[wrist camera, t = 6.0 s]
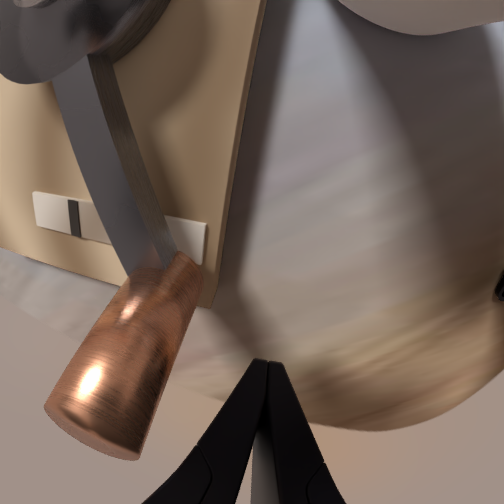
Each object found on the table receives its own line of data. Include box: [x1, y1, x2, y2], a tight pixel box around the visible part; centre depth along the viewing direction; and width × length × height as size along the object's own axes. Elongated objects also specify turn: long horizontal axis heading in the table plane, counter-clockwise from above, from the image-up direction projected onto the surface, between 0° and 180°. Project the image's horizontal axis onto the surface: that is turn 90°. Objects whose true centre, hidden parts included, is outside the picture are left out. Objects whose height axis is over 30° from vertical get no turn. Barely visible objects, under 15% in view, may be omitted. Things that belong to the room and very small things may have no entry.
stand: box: [0, 0, 267, 309], centre depth 9 cm, size 13×16×2 cm
